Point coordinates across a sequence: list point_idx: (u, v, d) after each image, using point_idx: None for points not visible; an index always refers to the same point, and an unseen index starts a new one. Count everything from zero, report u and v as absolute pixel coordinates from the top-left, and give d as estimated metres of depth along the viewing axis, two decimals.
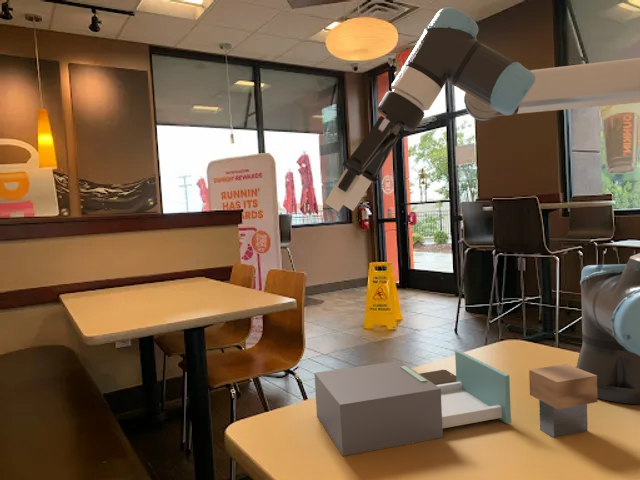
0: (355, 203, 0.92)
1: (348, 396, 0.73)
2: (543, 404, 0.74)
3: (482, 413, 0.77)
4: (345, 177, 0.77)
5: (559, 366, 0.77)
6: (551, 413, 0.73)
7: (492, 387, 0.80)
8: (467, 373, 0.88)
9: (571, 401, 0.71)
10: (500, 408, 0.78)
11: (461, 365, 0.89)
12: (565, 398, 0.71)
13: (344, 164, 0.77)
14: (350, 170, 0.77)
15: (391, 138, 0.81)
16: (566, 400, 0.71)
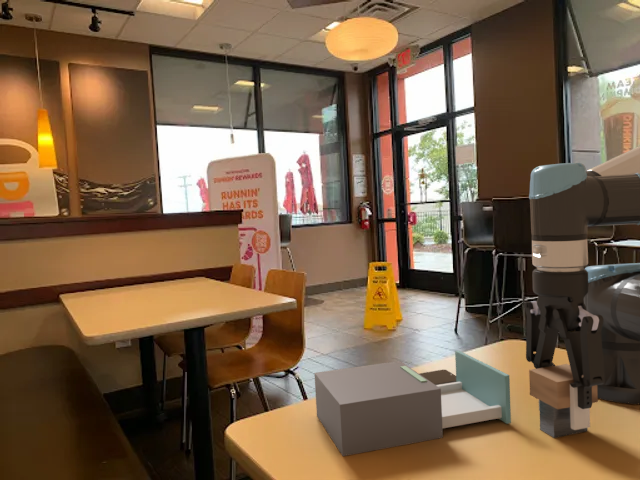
0: None
1: (348, 396, 0.73)
2: (543, 404, 0.74)
3: (482, 413, 0.77)
4: (585, 395, 0.69)
5: (559, 366, 0.77)
6: (551, 413, 0.73)
7: (492, 387, 0.80)
8: (467, 373, 0.88)
9: None
10: (500, 408, 0.78)
11: (461, 365, 0.89)
12: (565, 398, 0.71)
13: (576, 386, 0.69)
14: (586, 386, 0.69)
15: None
16: (566, 400, 0.71)
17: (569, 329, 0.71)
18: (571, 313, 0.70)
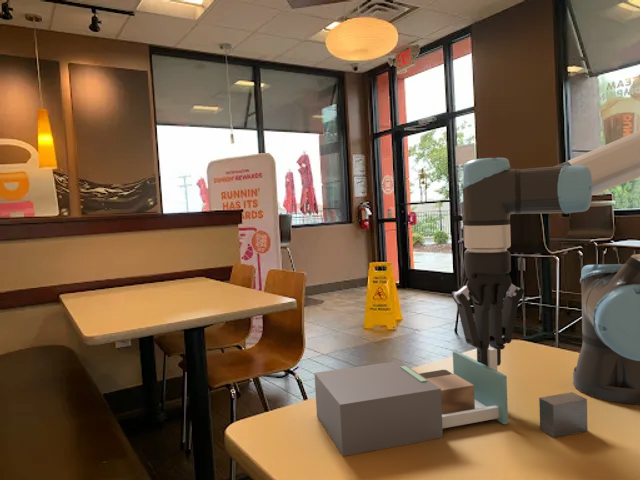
0: None
1: (348, 396, 0.73)
2: (543, 404, 0.74)
3: (479, 414, 0.77)
4: (477, 354, 0.85)
5: (447, 376, 0.85)
6: (551, 413, 0.73)
7: (489, 387, 0.80)
8: (464, 373, 0.87)
9: (450, 408, 0.80)
10: (497, 409, 0.78)
11: (459, 366, 0.89)
12: (443, 406, 0.79)
13: None
14: (477, 347, 0.85)
15: (483, 294, 0.82)
16: (444, 407, 0.79)
17: (474, 300, 0.84)
18: None
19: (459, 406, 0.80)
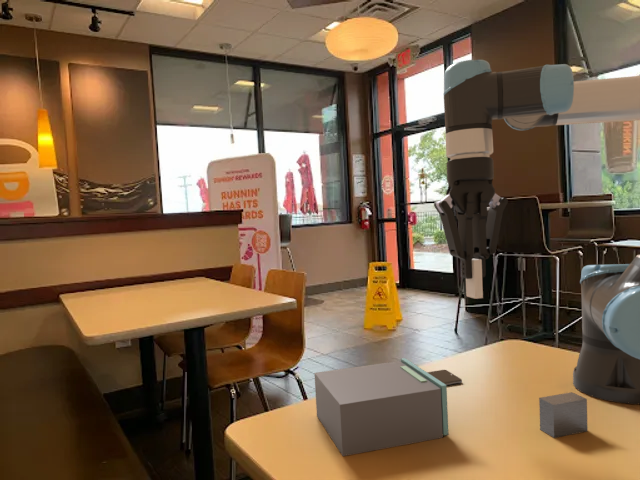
0: (477, 289, 0.82)
1: (348, 396, 0.73)
2: (543, 404, 0.74)
3: None
4: (462, 266, 0.83)
5: None
6: (551, 413, 0.73)
7: None
8: None
9: None
10: None
11: None
12: None
13: None
14: (461, 259, 0.83)
15: (466, 201, 0.80)
16: None
17: (457, 211, 0.82)
18: None
19: None
